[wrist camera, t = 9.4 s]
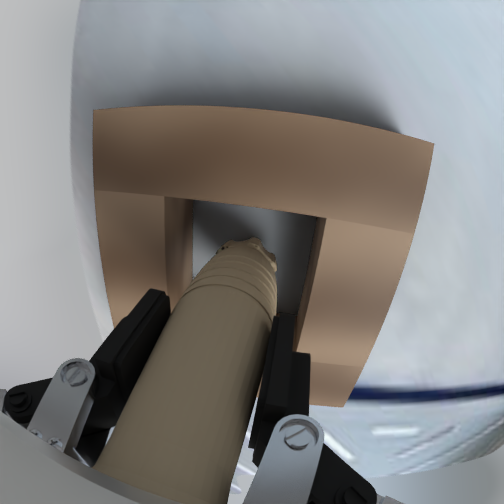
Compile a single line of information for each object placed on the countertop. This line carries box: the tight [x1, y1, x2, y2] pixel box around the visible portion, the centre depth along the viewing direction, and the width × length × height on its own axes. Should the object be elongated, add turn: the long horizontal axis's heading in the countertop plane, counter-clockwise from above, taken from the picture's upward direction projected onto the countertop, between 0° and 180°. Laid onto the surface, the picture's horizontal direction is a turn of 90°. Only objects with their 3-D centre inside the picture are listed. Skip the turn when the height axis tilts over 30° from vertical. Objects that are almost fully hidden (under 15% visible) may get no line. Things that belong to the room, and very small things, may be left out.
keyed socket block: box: [93, 105, 434, 407], centre depth 16 cm, size 16×15×4 cm
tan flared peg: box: [92, 237, 277, 504], centre depth 10 cm, size 5×6×15 cm
